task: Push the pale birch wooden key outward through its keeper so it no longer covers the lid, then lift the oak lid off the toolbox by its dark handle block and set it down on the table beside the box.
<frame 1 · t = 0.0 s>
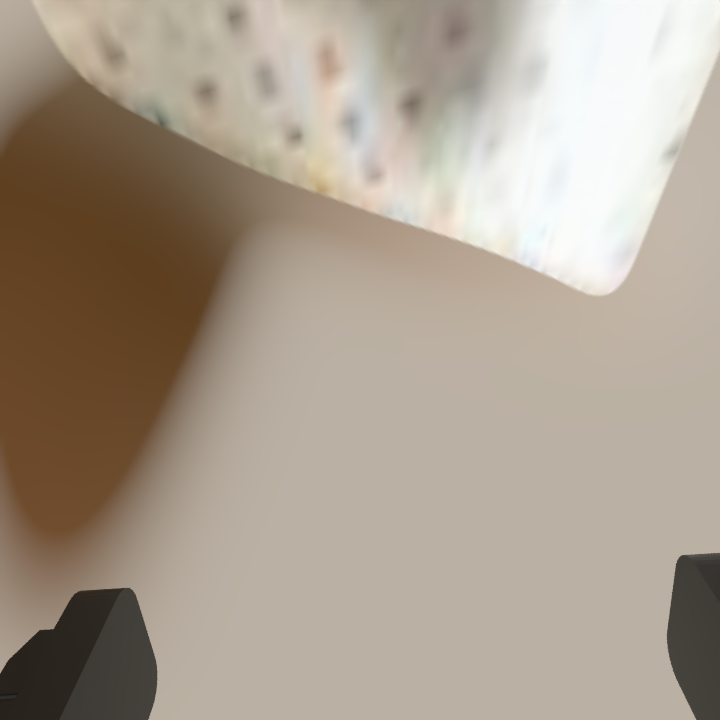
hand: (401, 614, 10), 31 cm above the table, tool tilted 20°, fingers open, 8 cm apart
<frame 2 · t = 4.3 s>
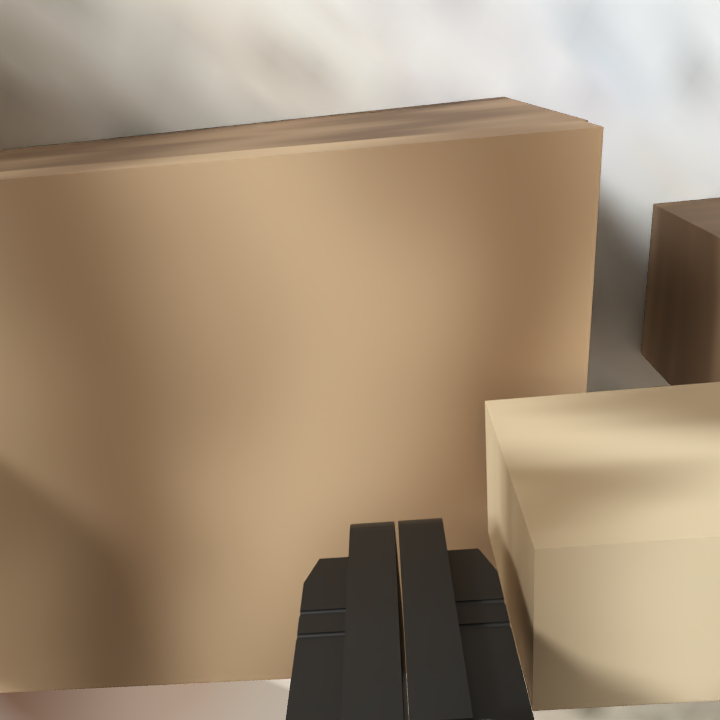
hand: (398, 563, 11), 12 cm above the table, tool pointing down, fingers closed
toolbox: (202, 322, 22), on the table
toolbox lid: (109, 447, 15), point 8 cm above the table, touching toolbox
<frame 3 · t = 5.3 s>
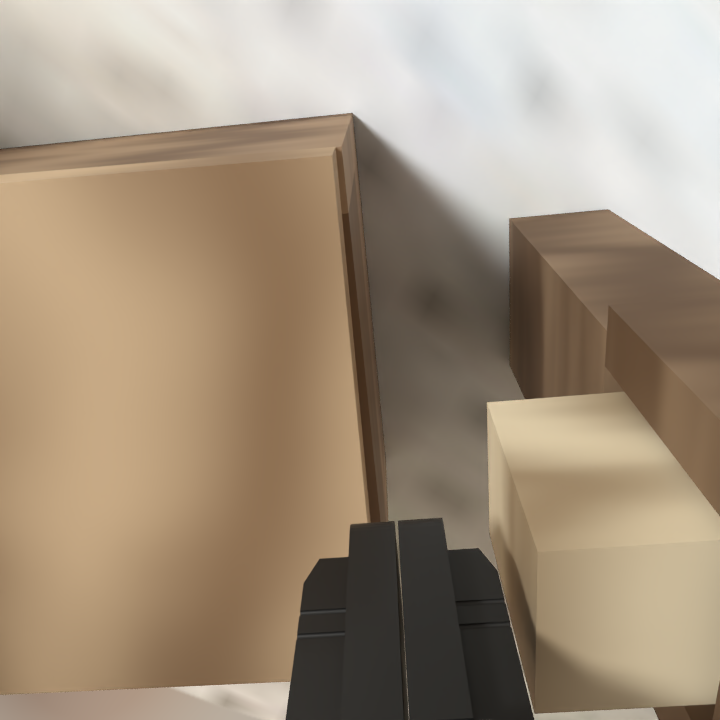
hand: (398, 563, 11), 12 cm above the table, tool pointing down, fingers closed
toolbox: (74, 333, 22), on the table
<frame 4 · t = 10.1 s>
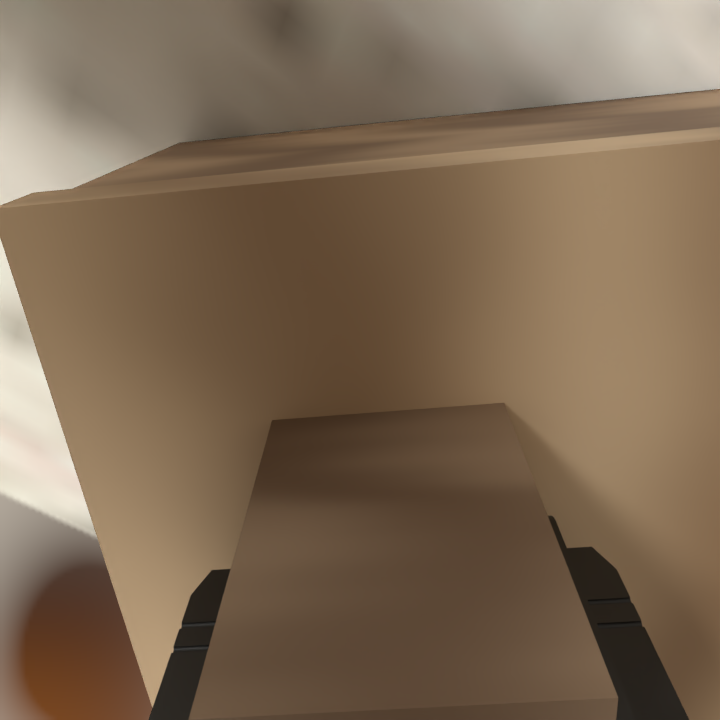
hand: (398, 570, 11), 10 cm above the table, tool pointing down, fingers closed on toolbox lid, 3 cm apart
toolbox: (560, 324, 19), on the table
toolbox lid: (675, 480, 12), point 8 cm above the table, touching gripper, toolbox
when the fingers open (3 cm above the table, at t = 17.5 s): toolbox lid drops 2 cm, on the table.
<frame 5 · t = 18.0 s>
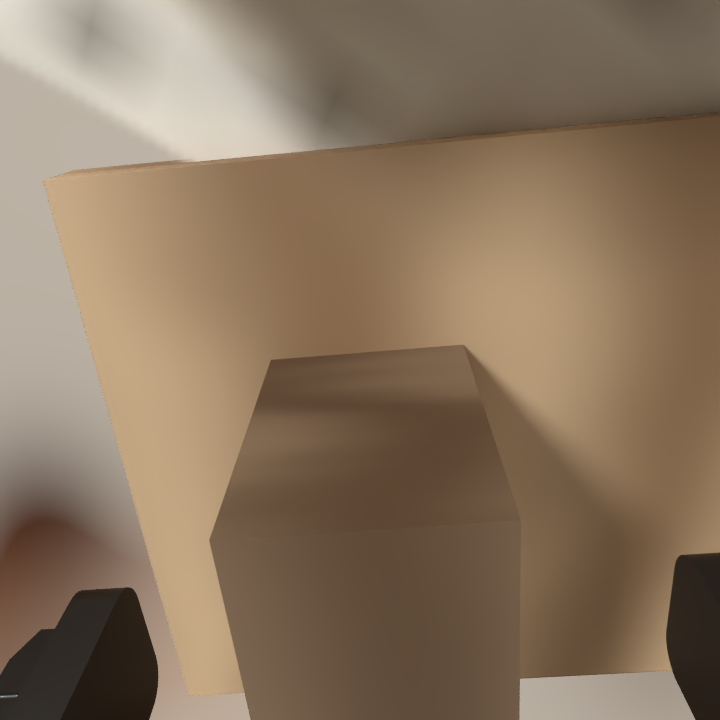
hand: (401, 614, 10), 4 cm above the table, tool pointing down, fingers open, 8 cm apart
toolbox lid: (615, 419, 14), on the table
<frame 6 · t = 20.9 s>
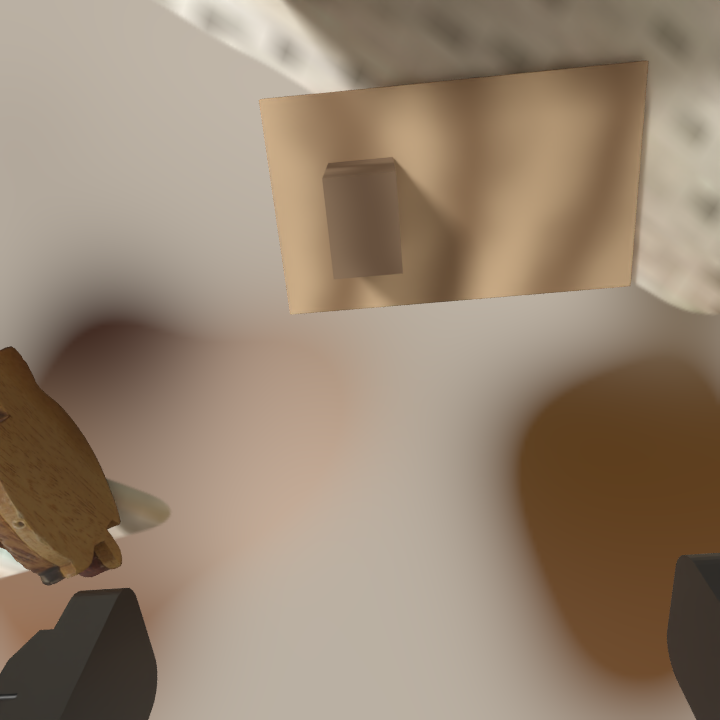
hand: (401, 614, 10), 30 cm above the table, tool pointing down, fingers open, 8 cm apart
wooden carving: (67, 431, 44), on the table
toolbox lid: (452, 194, 37), on the table
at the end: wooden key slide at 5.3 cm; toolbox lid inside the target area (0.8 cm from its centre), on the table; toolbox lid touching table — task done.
